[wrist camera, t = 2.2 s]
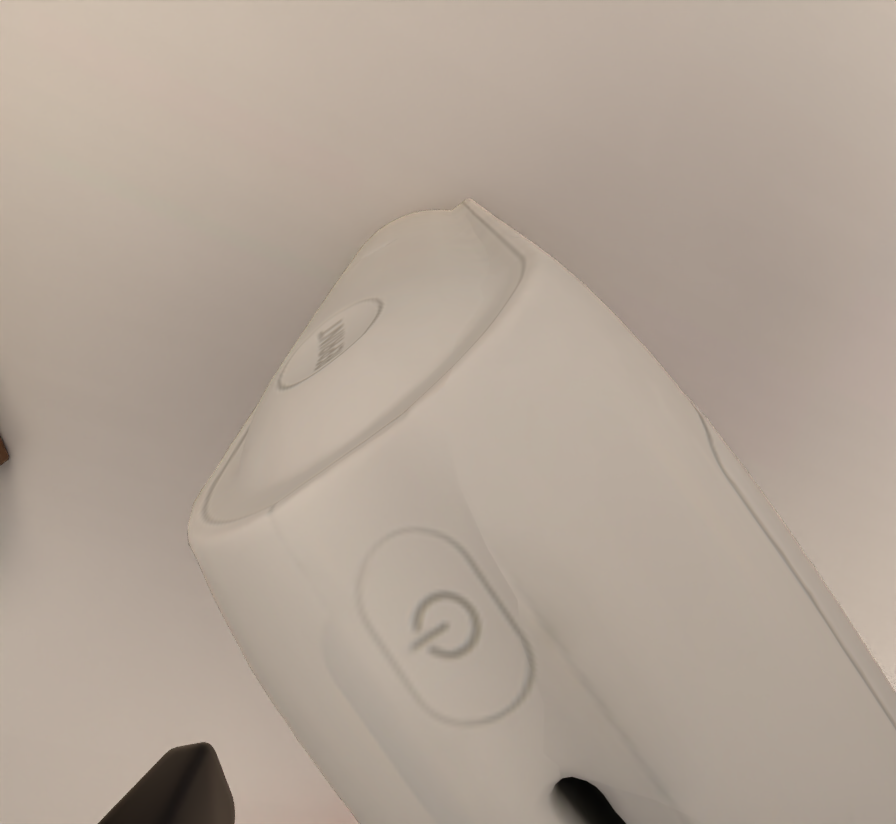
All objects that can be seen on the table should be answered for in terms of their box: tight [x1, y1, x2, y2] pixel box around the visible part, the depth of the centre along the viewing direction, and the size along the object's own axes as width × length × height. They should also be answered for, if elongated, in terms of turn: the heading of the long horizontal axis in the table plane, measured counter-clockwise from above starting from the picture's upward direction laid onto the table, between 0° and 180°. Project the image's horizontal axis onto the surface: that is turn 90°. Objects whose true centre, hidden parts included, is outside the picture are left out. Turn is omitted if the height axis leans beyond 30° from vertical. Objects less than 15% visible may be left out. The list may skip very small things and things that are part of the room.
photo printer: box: [187, 199, 896, 824], centre depth 10 cm, size 10×4×12 cm, turn 36°
